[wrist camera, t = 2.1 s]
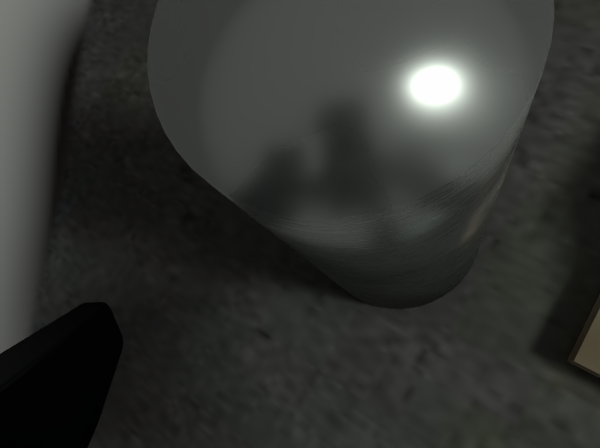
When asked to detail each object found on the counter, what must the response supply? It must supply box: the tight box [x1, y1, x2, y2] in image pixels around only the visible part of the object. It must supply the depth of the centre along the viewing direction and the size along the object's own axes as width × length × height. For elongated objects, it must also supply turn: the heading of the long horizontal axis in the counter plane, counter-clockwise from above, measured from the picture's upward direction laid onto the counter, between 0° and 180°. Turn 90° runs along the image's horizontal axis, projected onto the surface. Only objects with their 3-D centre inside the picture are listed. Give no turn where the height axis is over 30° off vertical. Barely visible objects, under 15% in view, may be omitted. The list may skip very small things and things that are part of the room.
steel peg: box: [148, 0, 554, 309], centre depth 14 cm, size 6×6×13 cm
